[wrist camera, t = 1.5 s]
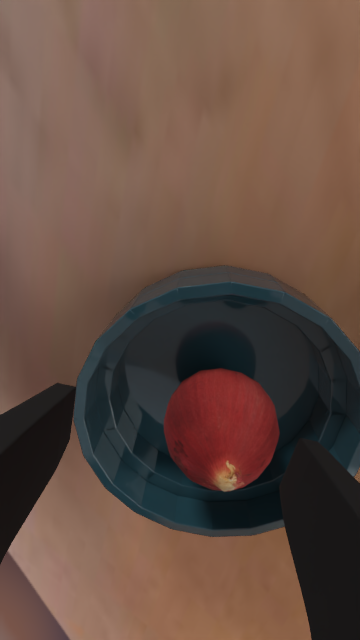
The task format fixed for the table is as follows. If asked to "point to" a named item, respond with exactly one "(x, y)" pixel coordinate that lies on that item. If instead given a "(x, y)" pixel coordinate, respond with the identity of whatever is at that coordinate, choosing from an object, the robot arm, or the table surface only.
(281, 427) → the bowl
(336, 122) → the table surface
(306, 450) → the robot arm
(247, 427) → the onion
